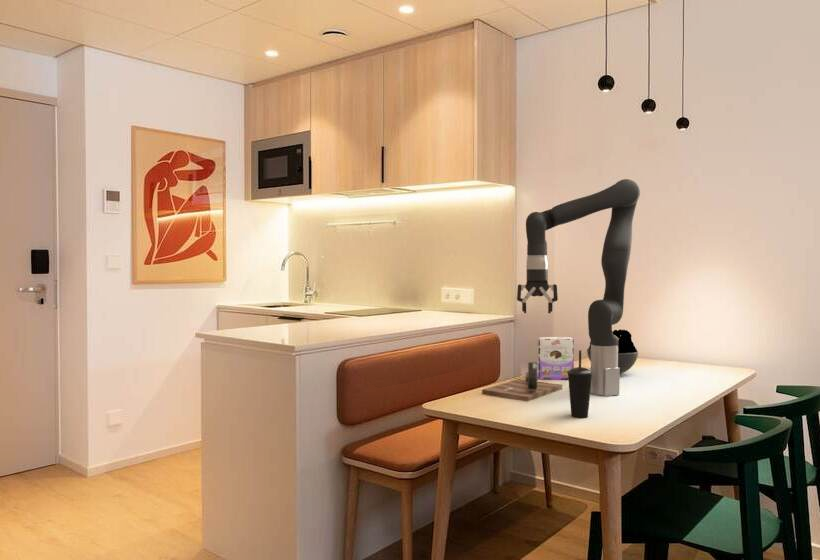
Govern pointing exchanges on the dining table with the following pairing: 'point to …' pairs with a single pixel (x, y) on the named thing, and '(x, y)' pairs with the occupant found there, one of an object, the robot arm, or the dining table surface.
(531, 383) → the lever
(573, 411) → the drinking cup
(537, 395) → the board
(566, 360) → the candy box
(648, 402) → the dining table surface
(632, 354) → the bowl of black rocks
